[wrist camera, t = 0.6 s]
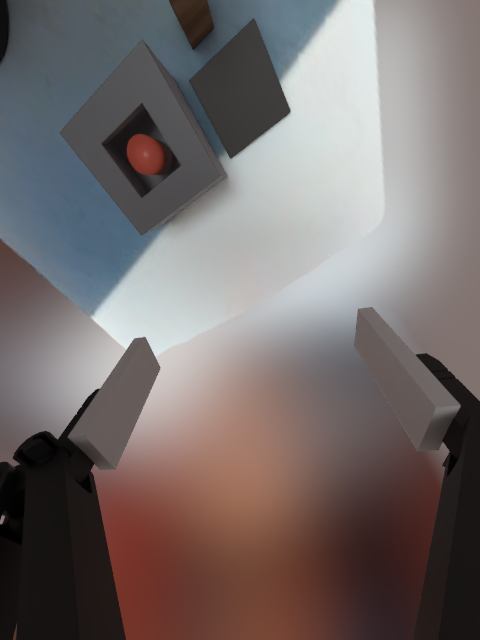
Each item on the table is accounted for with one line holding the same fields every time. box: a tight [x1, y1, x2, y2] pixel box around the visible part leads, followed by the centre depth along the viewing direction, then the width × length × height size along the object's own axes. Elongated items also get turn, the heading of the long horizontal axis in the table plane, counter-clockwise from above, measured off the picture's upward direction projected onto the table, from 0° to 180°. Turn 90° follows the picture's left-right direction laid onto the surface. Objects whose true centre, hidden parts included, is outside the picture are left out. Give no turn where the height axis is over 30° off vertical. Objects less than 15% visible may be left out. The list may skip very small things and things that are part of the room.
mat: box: [189, 18, 290, 158], centre depth 29 cm, size 9×9×1 cm
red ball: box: [127, 134, 172, 175], centre depth 27 cm, size 4×4×4 cm
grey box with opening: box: [59, 39, 227, 235], centre depth 29 cm, size 12×12×9 cm
